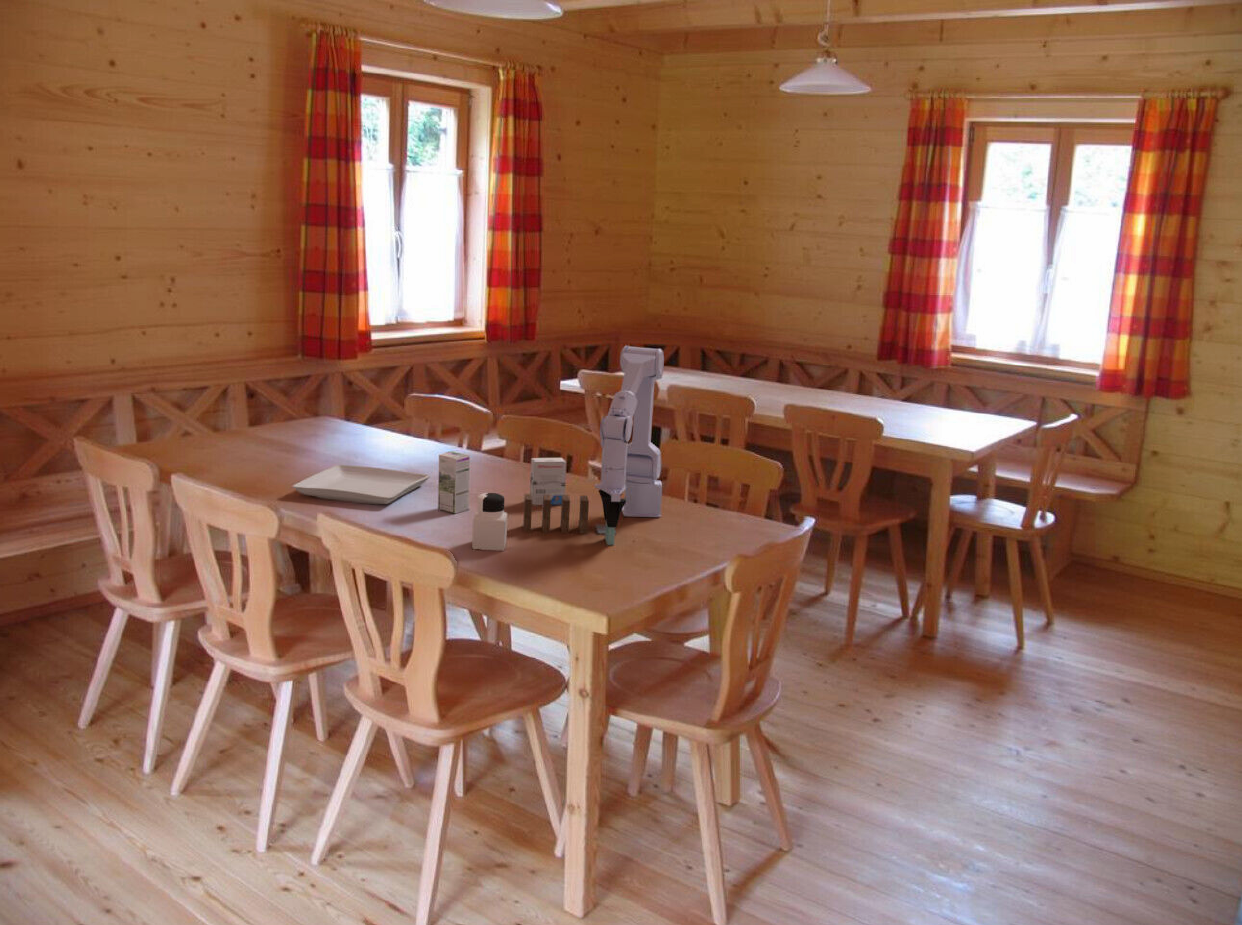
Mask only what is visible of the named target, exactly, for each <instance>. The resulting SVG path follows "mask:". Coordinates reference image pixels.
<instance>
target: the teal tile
mask: <svg viewBox="0 0 1242 925" xmlns="http://www.w3.org/2000/svg"><path fill="white" fill-rule="evenodd" d="M605 525H606V530H605V535H604V539H605V543H606V545H607V546H615V539H616V538H615V537H616V535H615V531H616V527H607V522H606V521H605Z"/></svg>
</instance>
